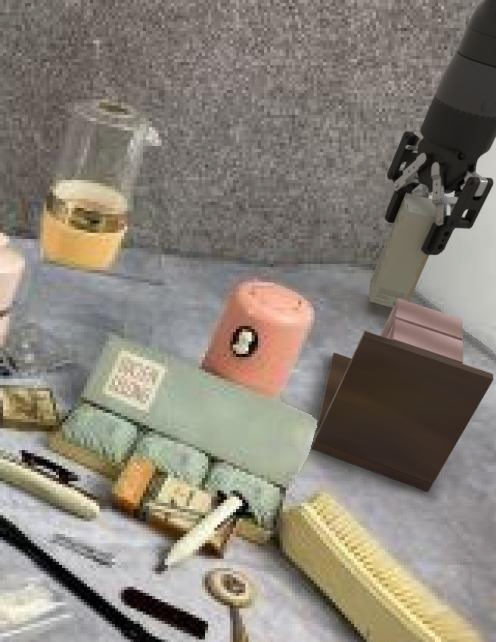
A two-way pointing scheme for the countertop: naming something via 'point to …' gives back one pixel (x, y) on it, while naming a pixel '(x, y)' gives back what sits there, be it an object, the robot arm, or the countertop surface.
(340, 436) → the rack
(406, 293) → the cosmetic box
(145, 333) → the countertop surface
